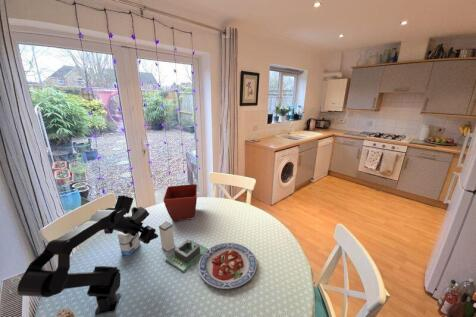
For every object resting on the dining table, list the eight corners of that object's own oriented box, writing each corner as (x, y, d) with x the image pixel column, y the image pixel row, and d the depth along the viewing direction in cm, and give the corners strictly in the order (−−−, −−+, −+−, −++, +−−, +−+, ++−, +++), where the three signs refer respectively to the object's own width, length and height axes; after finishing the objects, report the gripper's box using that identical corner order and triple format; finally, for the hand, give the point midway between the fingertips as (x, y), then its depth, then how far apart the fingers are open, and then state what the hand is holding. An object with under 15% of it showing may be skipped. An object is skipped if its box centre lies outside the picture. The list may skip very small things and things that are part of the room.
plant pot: (170, 208, 140) (167, 186, 135) (198, 205, 143) (197, 183, 138) (166, 225, 122) (162, 199, 117) (198, 221, 125) (196, 196, 120)
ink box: (129, 256, 99) (125, 235, 95) (121, 254, 100) (116, 234, 96) (141, 244, 107) (138, 224, 103) (133, 242, 108) (129, 223, 104)
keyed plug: (167, 251, 101) (164, 229, 98) (161, 247, 104) (158, 225, 100) (175, 245, 106) (173, 223, 102) (170, 241, 108) (167, 220, 104)
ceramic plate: (194, 253, 100) (194, 248, 99) (243, 241, 109) (243, 236, 108) (205, 301, 77) (205, 295, 76) (266, 280, 86) (266, 275, 85)
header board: (183, 272, 89) (182, 264, 88) (165, 260, 96) (164, 252, 94) (208, 250, 102) (207, 242, 101) (191, 241, 108) (190, 234, 107)
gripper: (148, 212, 80) (173, 222, 92) (123, 199, 90) (148, 210, 102) (132, 240, 76) (160, 247, 88) (107, 224, 86) (136, 232, 98)
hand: (151, 232), depth 94 cm, fingers open, 9 cm apart
